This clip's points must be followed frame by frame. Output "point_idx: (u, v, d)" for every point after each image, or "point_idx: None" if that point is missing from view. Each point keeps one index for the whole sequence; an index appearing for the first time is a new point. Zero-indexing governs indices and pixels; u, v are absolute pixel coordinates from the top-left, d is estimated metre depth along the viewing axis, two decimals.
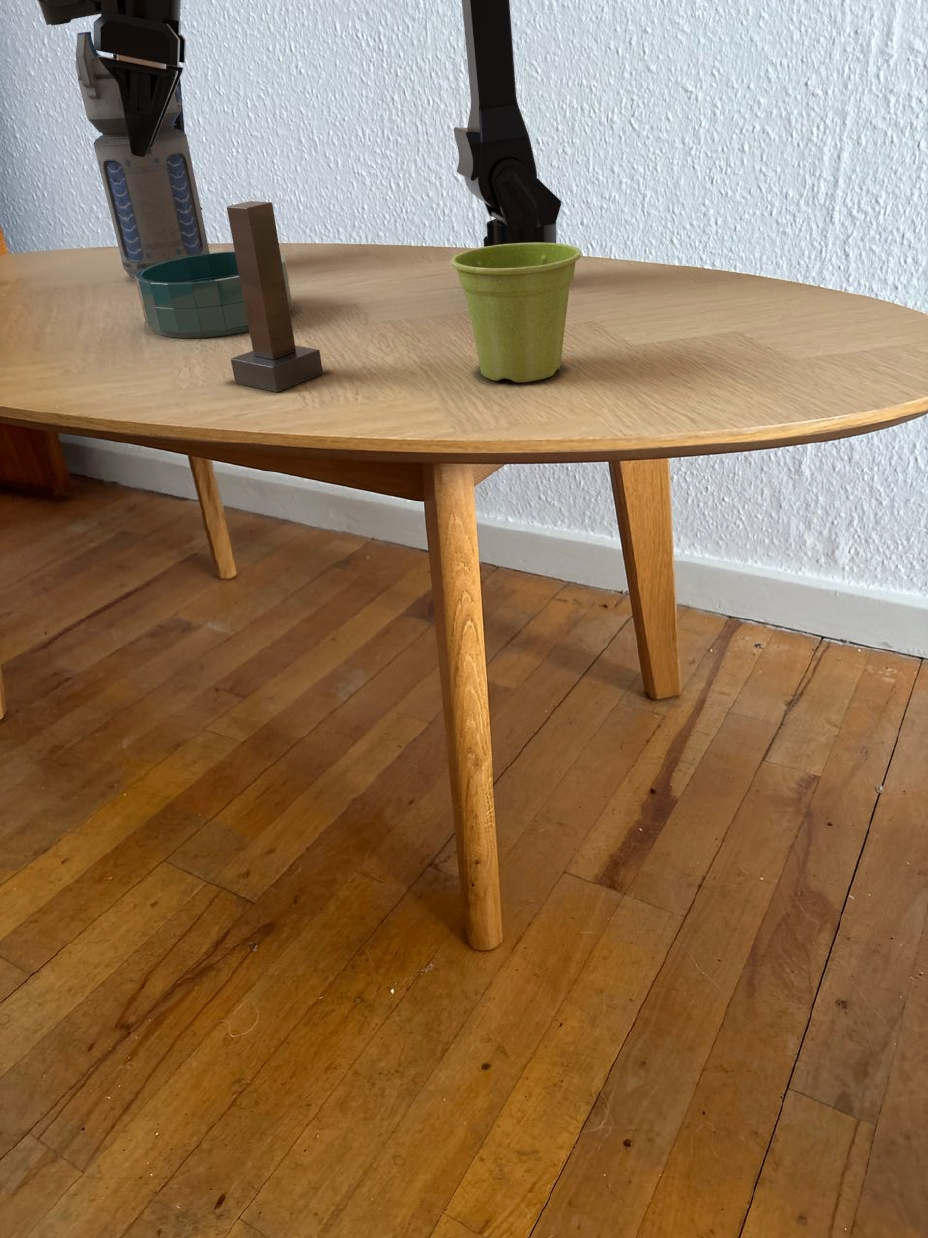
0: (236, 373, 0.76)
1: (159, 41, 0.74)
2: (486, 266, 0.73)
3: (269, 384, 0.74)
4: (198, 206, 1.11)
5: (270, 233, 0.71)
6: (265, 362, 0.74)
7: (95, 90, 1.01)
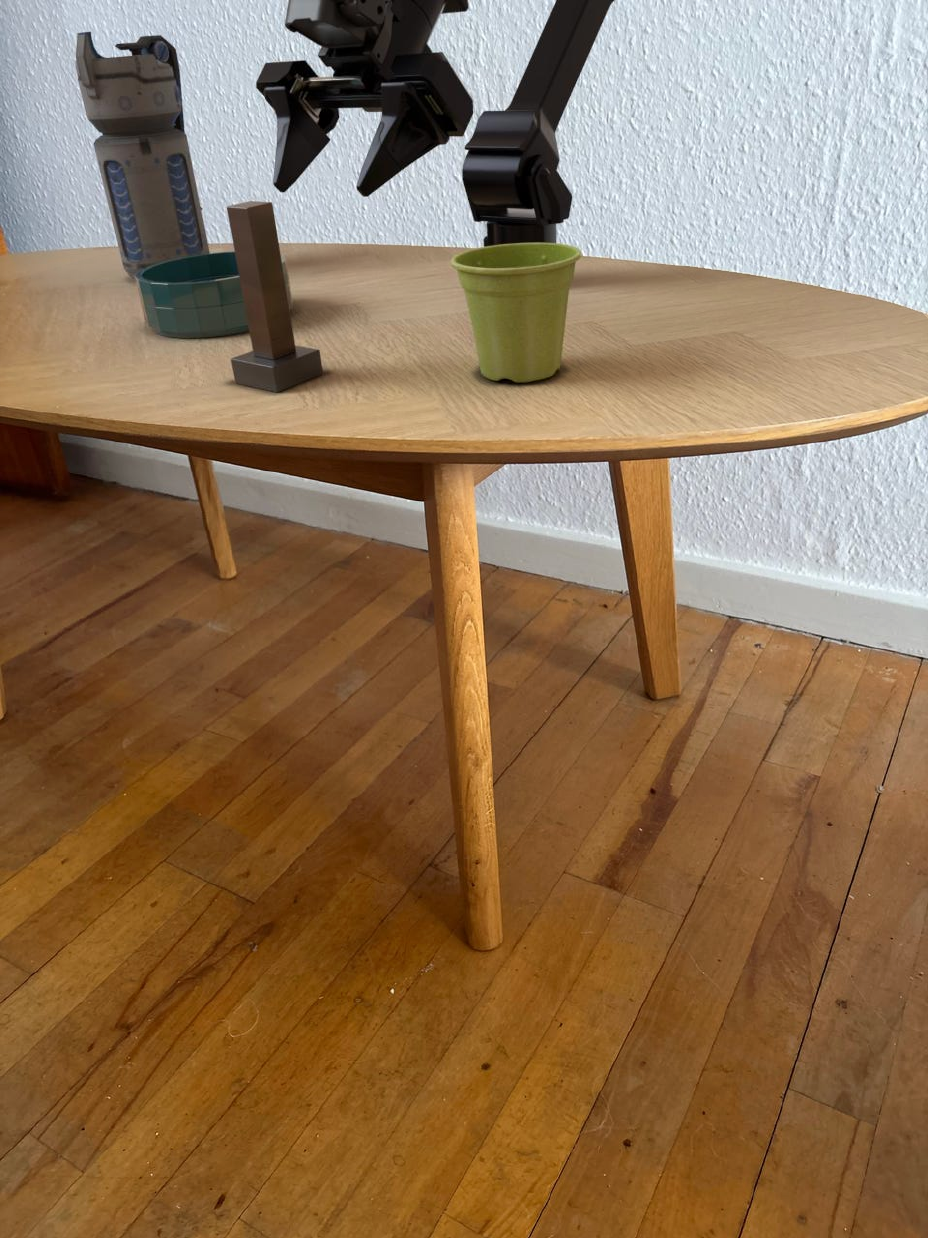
0: (236, 373, 0.76)
1: (467, 106, 0.72)
2: (486, 266, 0.73)
3: (269, 384, 0.74)
4: (198, 206, 1.11)
5: (270, 233, 0.71)
6: (265, 362, 0.74)
7: (95, 90, 1.01)
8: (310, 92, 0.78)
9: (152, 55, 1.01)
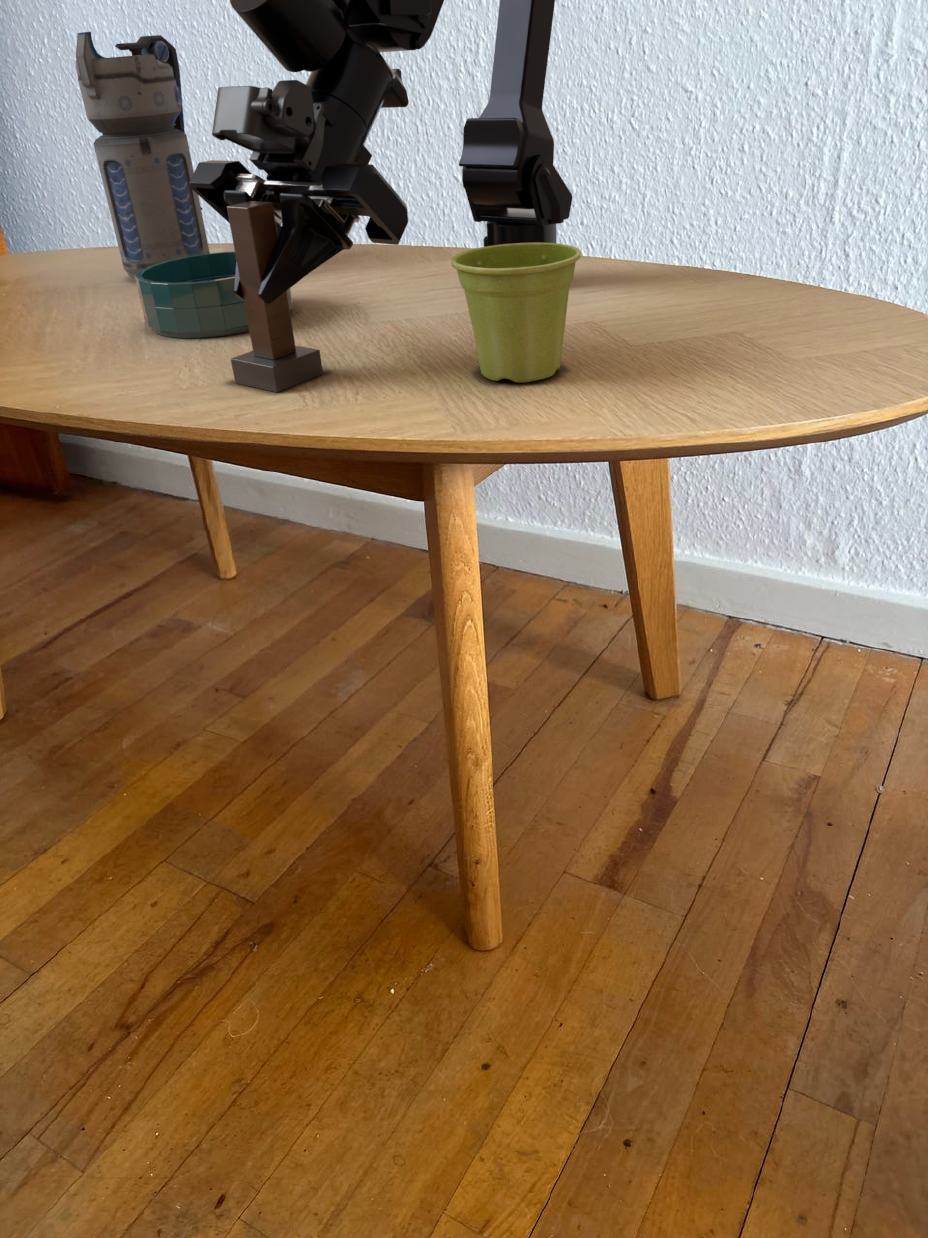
0: (236, 373, 0.76)
1: (401, 216, 0.69)
2: (486, 266, 0.73)
3: (269, 384, 0.74)
4: (198, 206, 1.11)
5: (270, 233, 0.71)
6: (265, 362, 0.74)
7: (95, 90, 1.01)
8: None
9: (152, 55, 1.01)
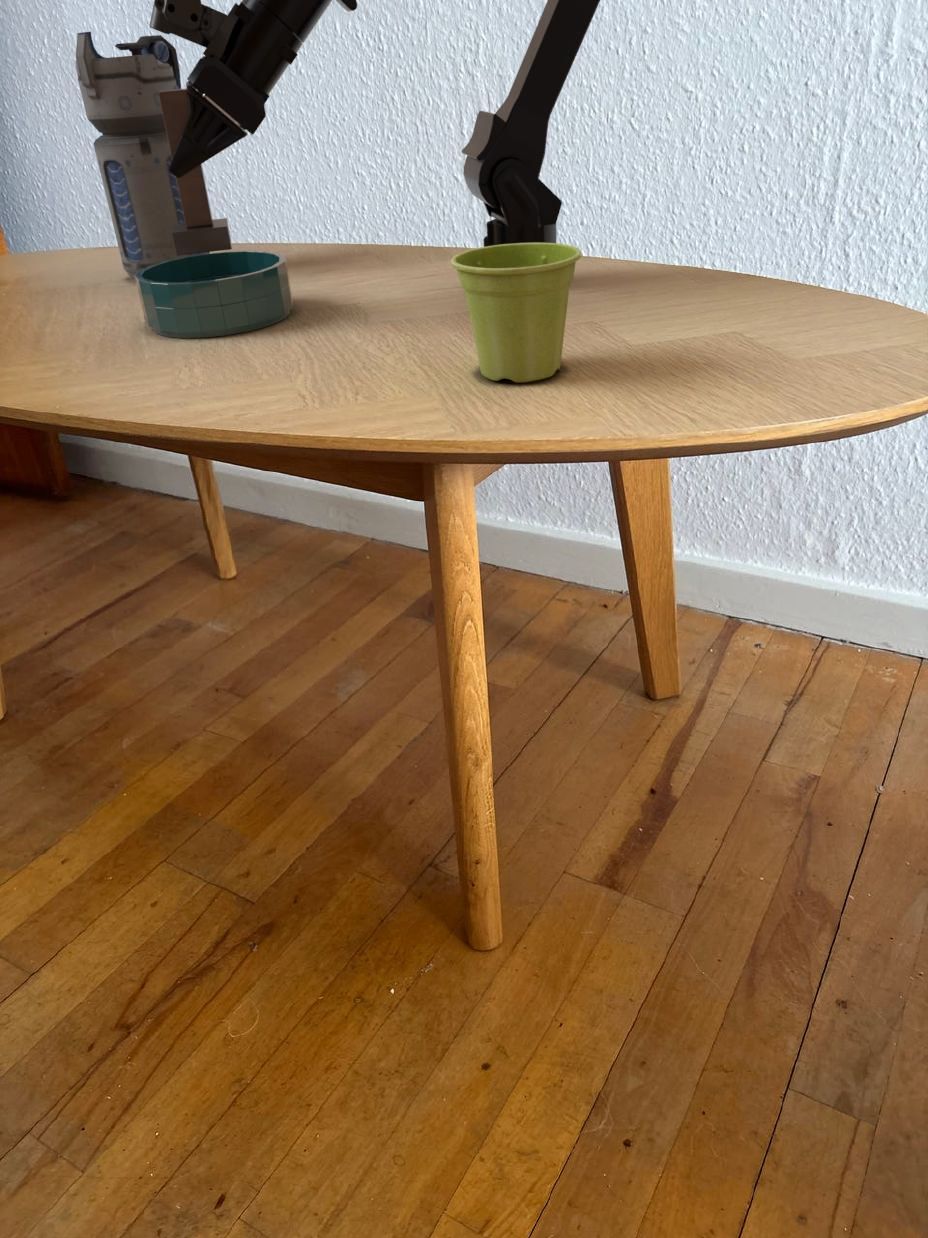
0: None
1: (249, 108, 0.77)
2: (486, 266, 0.73)
3: None
4: None
5: (183, 117, 0.83)
6: (177, 229, 0.88)
7: (95, 90, 1.01)
8: None
9: (152, 55, 1.01)
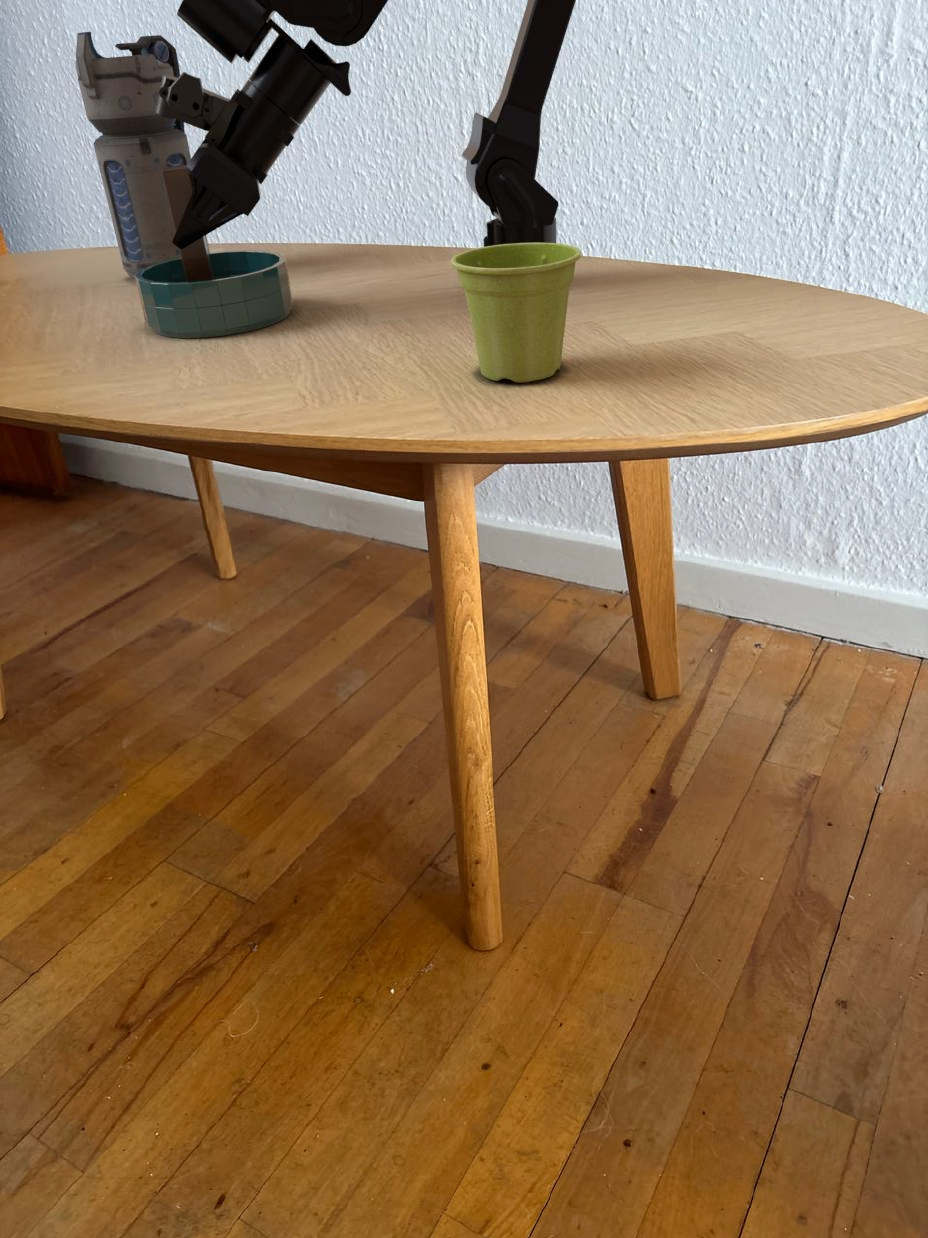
0: None
1: (244, 192, 0.82)
2: (486, 266, 0.73)
3: None
4: None
5: (185, 192, 0.88)
6: None
7: (95, 90, 1.01)
8: None
9: (152, 55, 1.01)
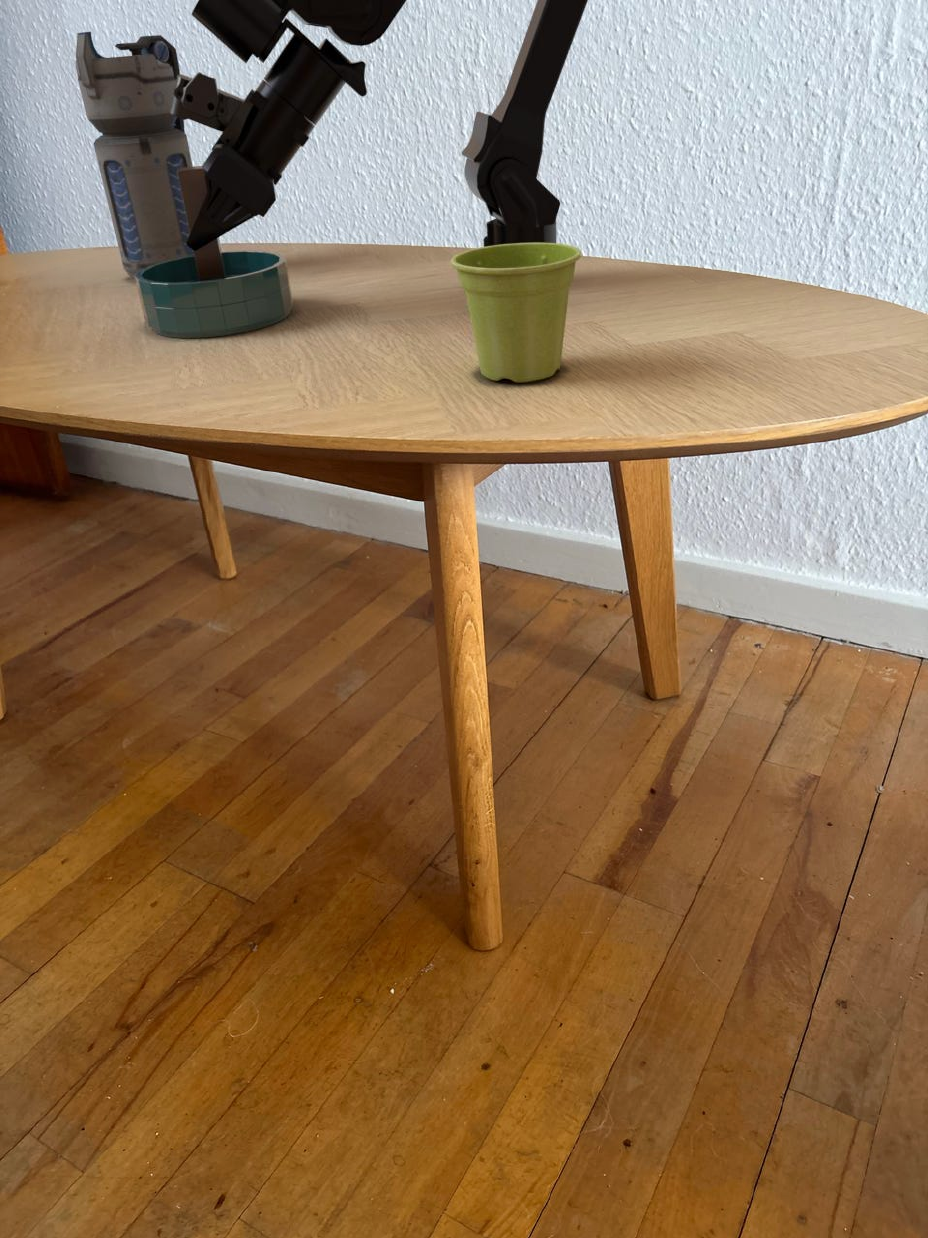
0: None
1: (259, 193, 0.81)
2: (486, 266, 0.73)
3: None
4: None
5: (200, 193, 0.88)
6: None
7: (95, 90, 1.01)
8: None
9: (152, 55, 1.01)
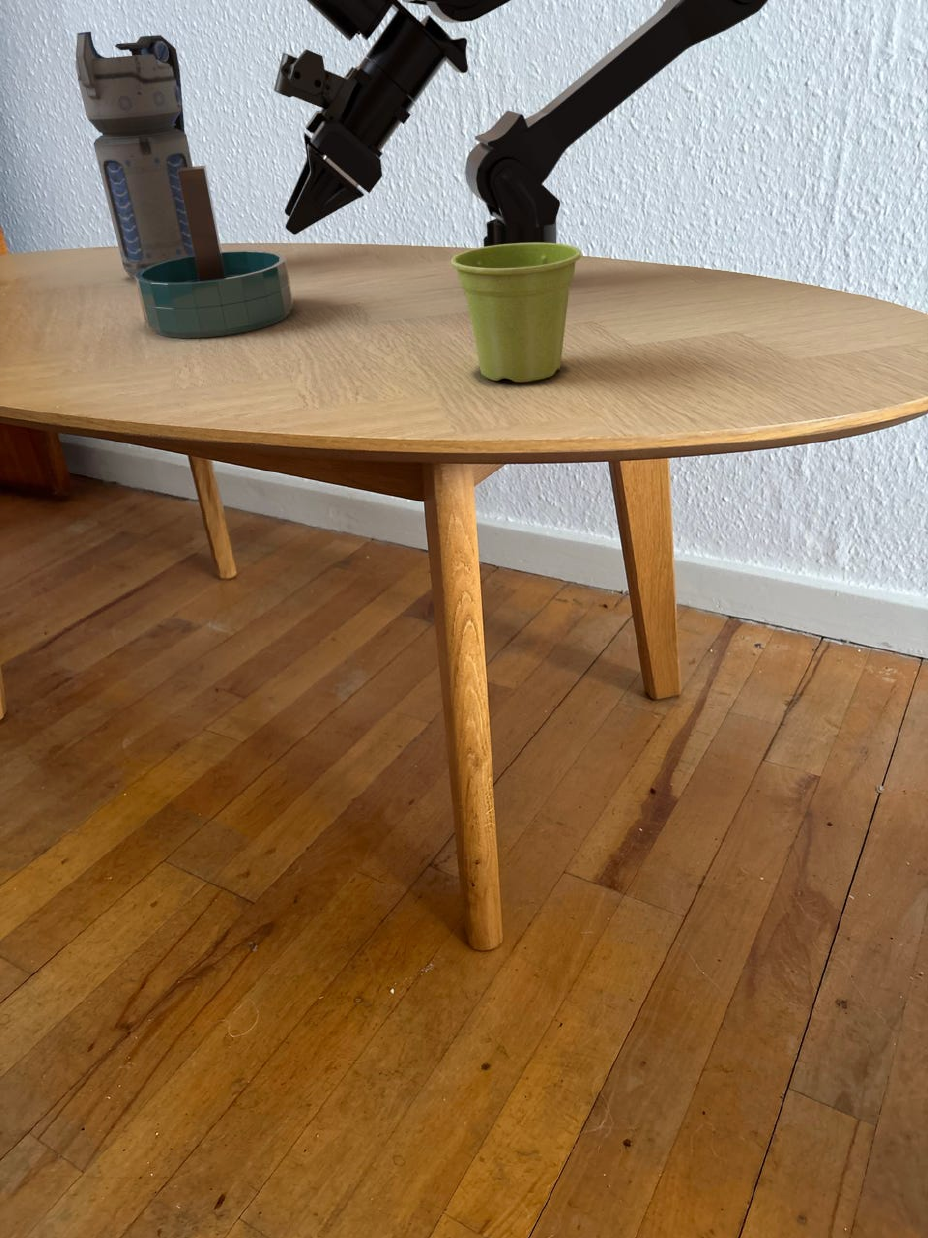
0: None
1: (367, 169, 0.82)
2: (486, 266, 0.73)
3: None
4: None
5: (200, 193, 0.88)
6: None
7: (95, 90, 1.01)
8: None
9: (152, 55, 1.01)
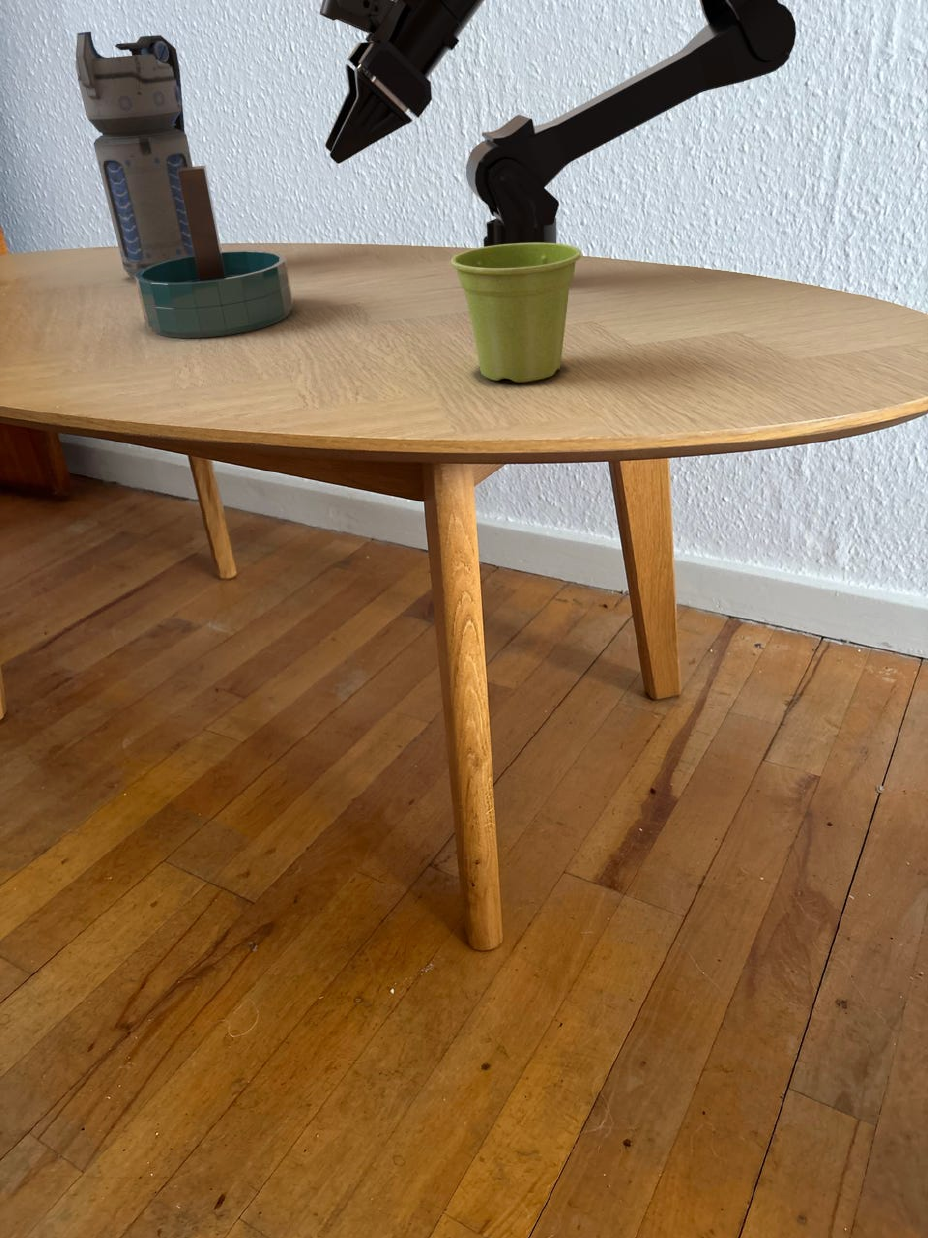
0: None
1: (417, 91, 0.80)
2: (486, 266, 0.73)
3: None
4: None
5: (200, 193, 0.88)
6: None
7: (95, 90, 1.01)
8: None
9: (152, 55, 1.01)
